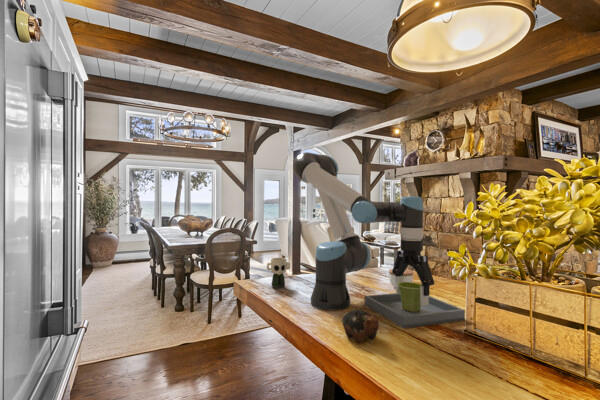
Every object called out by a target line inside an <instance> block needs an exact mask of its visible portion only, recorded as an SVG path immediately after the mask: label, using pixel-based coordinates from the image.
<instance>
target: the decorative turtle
mask: <svg viewBox="0 0 600 400" xmlns="http://www.w3.org/2000/svg"><path fill="white" fill-rule="evenodd" d="M341 322H342V326H343V329H344V332H345V334H346V335H345V336H346V337H347V338H348V339H349V338H350V339H351V338H353V339H354V341H355V343H356V344H358V345H360V344H362V343H363V342H364V340H365V339H366V338H367V339H368V340H370V341H374V340H375V339H376V335H377V333H378V330H379V327H380V324H379V323H380V322H379V320H378V318H376V317H375V316H373V314H371V313H370V312H368V311H366V310H362V309H352V310H350V311H347V313H345V314H344V315H343V316H342V318H341Z"/></svg>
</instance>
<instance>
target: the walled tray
mask: <svg viewBox="0 0 600 400" xmlns="http://www.w3.org/2000/svg"><path fill="white" fill-rule="evenodd" d="M364 306H365V307H367V308H369V309H370V310H372V311H374V312H375V313H377V314H378V315H381V316H382V317H383V318H386V319H387V320H388V321H390V322H392V323H394V324H395V325H397V326H399V327H401V329H402V328H403V329H411V328H412V329H413V328H418V327H424V326H425V327H426V326H433V325H441V324H449V322H450V323H454V322H453V321H457V322H462V321H461V320H466V314H465V313H466V310H465V309H464V308H461V307H458V306H456V305H453V304H451V303H448V302H446V301H444V300H440V299H438V298H435V297H433V296H430V295H429V305H421V308H420V311H418V312H410V311H408V310H403V309H402V303H401V294H396V292H395V293H384V294H373V295H372V294H371V295H364Z"/></svg>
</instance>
